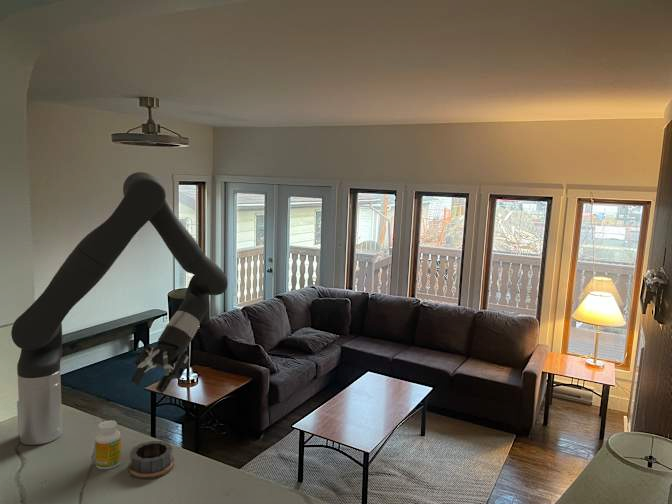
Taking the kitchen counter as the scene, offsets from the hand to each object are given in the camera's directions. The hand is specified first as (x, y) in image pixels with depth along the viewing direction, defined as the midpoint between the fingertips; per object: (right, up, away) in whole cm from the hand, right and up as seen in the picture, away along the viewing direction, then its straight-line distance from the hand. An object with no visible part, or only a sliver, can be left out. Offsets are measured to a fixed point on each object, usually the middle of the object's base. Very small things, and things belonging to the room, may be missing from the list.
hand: (146, 387), depth 126 cm
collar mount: (+5, -16, -9) cm, 19 cm away
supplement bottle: (-6, -16, -8) cm, 19 cm away
